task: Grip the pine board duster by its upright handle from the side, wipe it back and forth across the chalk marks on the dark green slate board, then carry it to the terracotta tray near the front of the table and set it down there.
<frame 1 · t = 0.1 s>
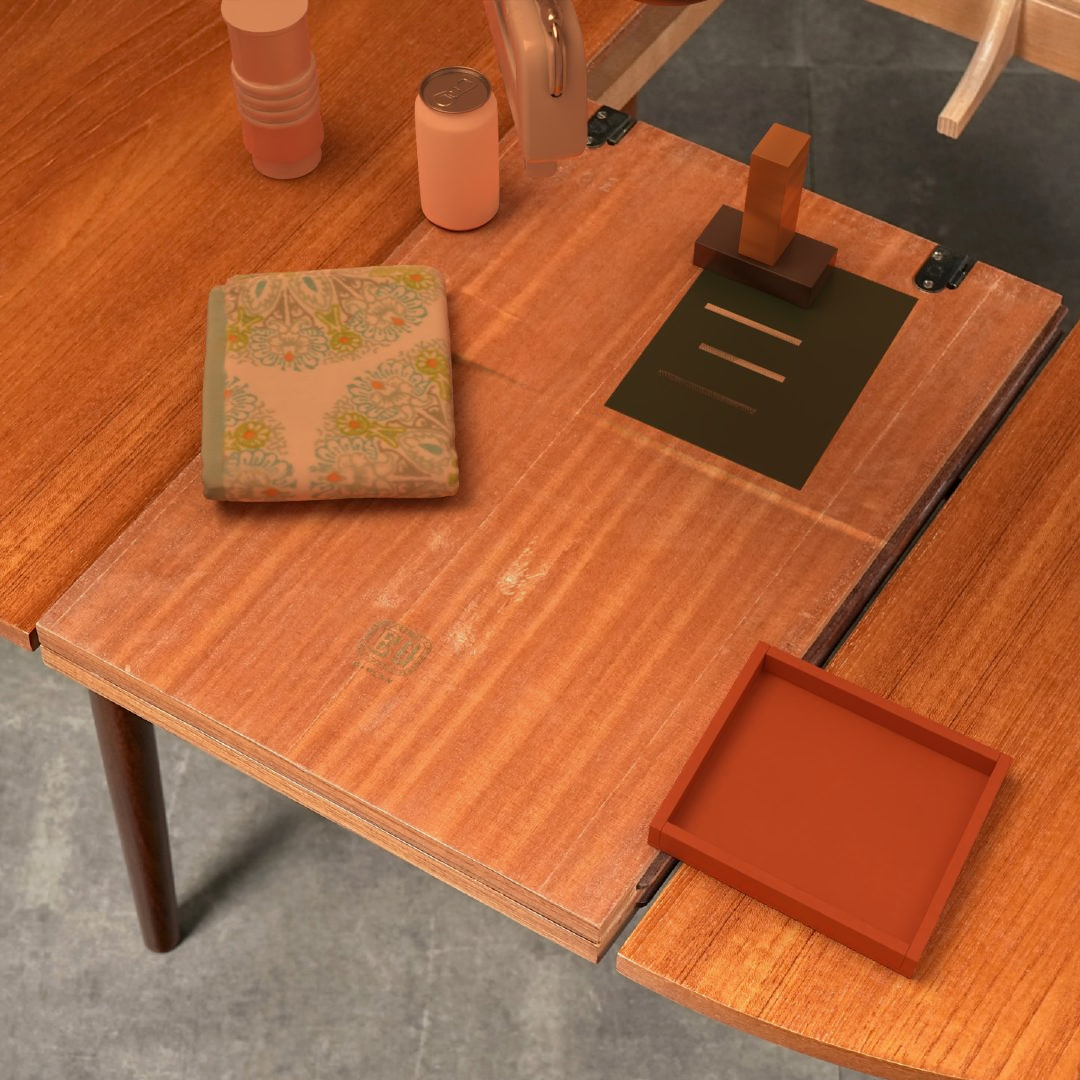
hand: (526, 118, 104), 28 cm above the table, tool pointing down, fingers open, 8 cm apart
towel: (333, 404, 127), on the table
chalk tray: (828, 809, 107), on the table
duster: (763, 267, 134), point 1 cm above the table, touching slate board
pink ridged cylinder: (286, 157, 144), on the table
can: (460, 208, 140), on the table
slate board: (763, 361, 130), on the table
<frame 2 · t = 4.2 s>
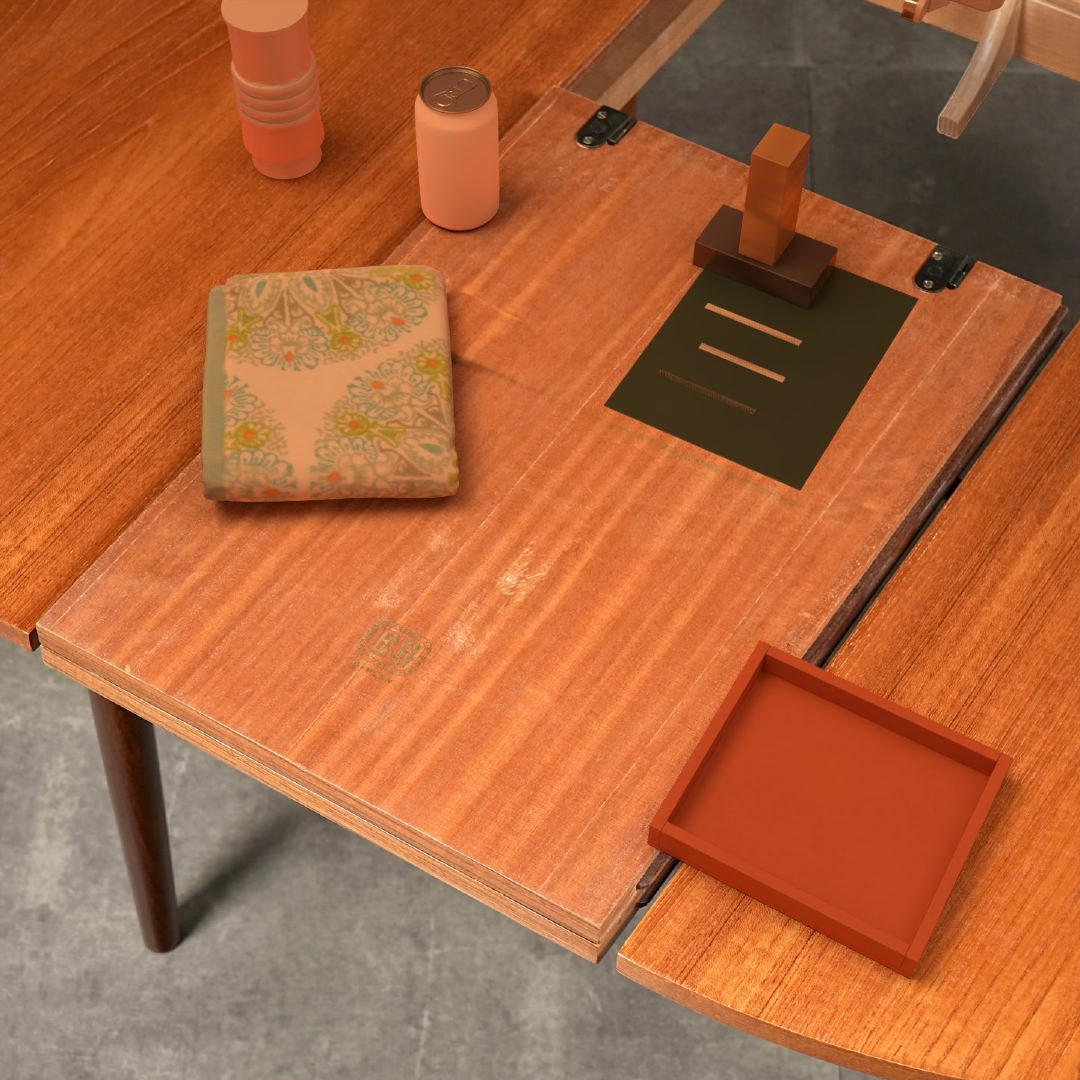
nothing on the table moved.
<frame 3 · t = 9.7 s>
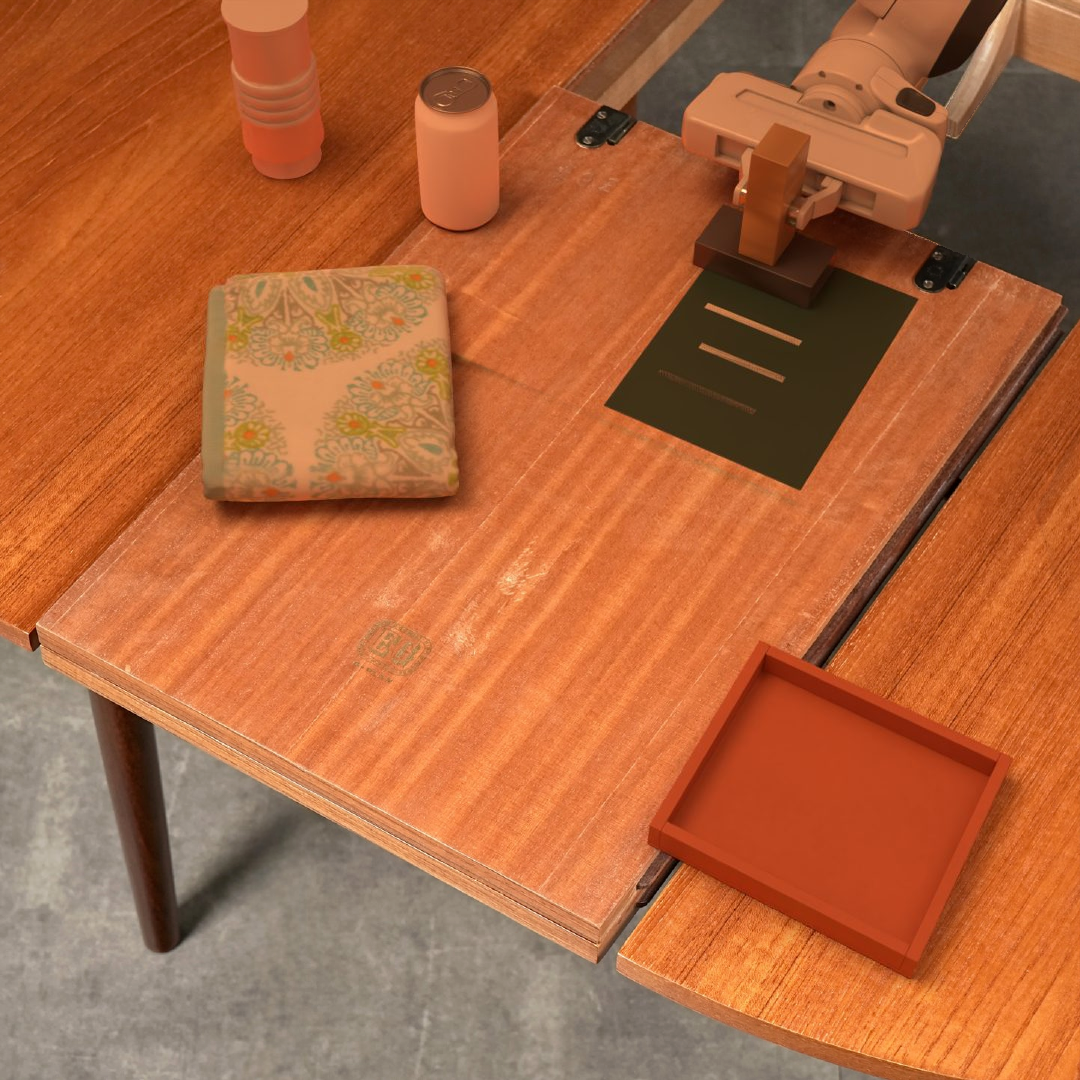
hand: (767, 211, 128), 8 cm above the table, tool horizontal, fingers closed on duster, 3 cm apart
duster: (763, 267, 134), point 1 cm above the table, touching gripper, slate board
everything else where it was.
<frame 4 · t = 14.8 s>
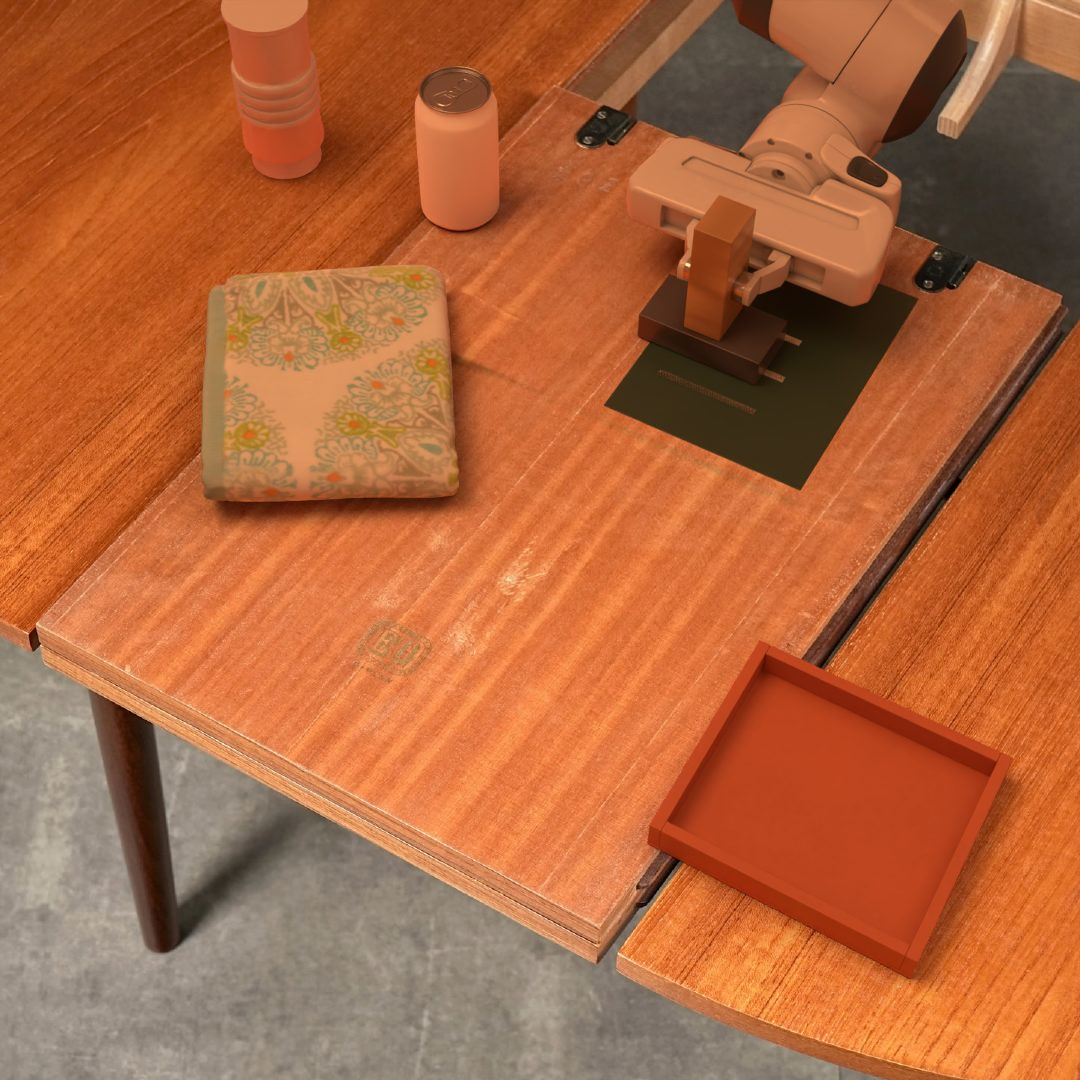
hand: (712, 286, 123), 8 cm above the table, tool horizontal, fingers closed on duster, 3 cm apart
duster: (710, 339, 129), point 1 cm above the table, touching gripper
everything else where it was.
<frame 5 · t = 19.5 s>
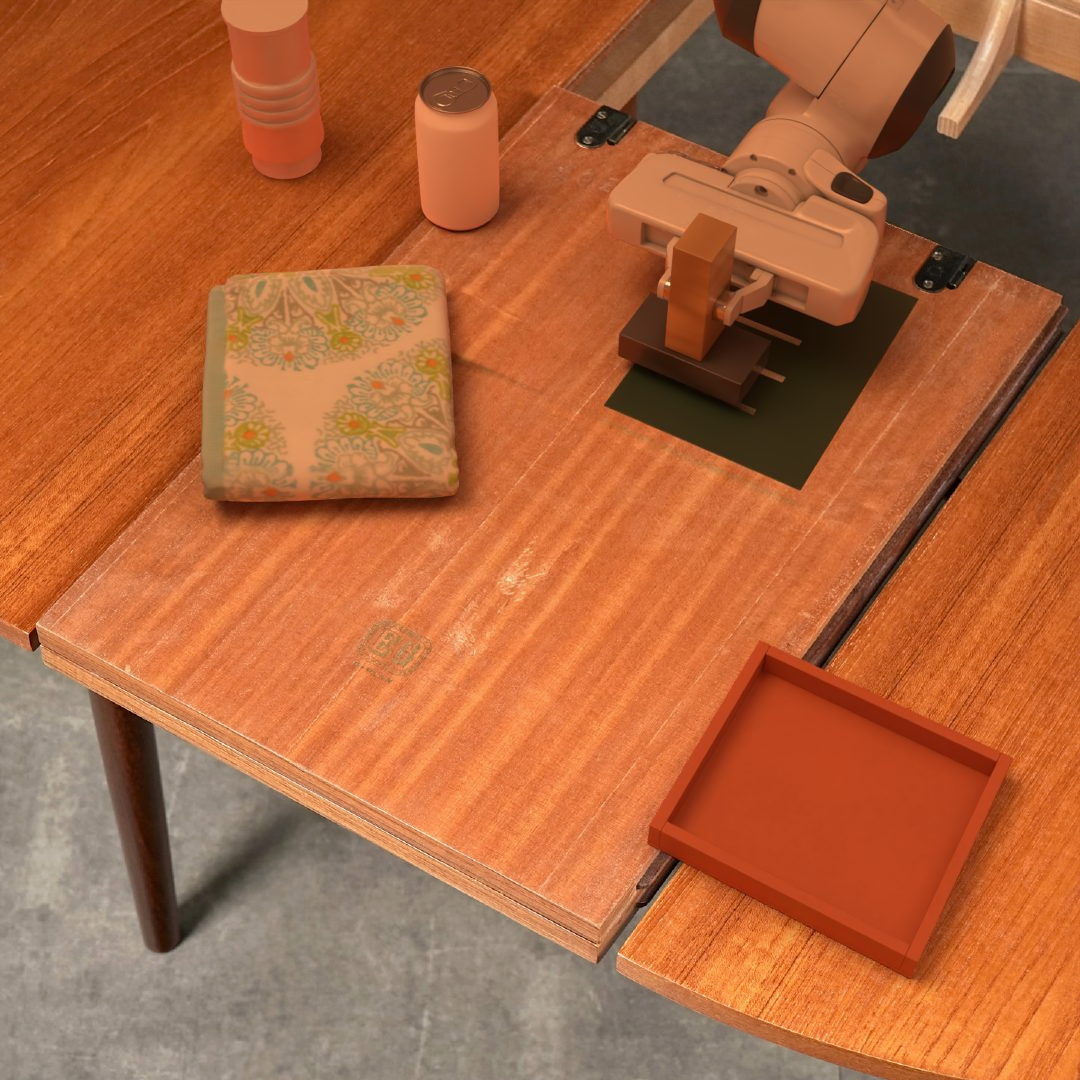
hand: (693, 305, 121), 9 cm above the table, tool horizontal, fingers closed on duster, 3 cm apart
duster: (692, 359, 126), point 2 cm above the table, touching gripper
everything else where it was.
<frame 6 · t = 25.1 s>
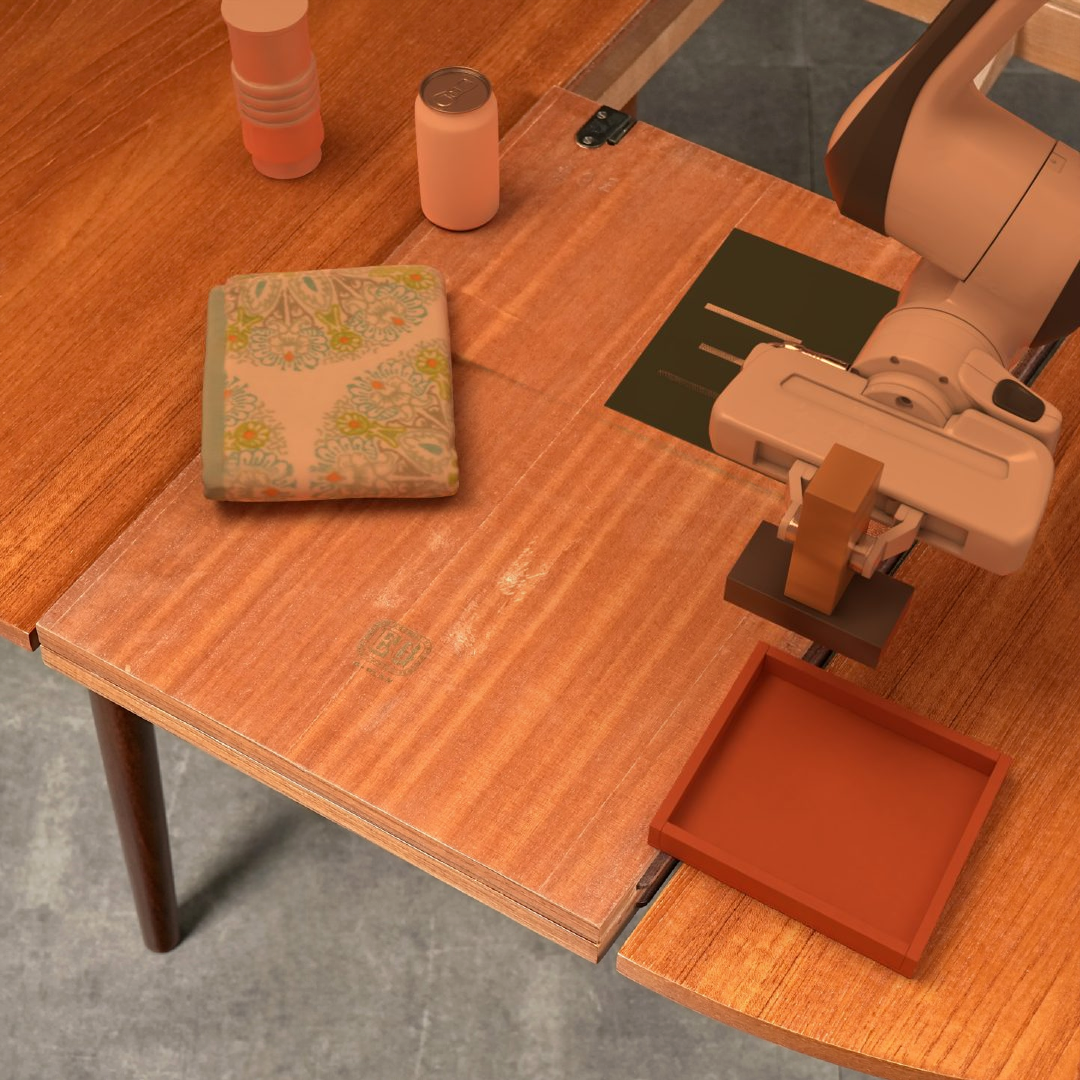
hand: (824, 552, 97), 18 cm above the table, tool horizontal, fingers closed on duster, 3 cm apart
duster: (815, 604, 102), point 11 cm above the table, touching gripper
everything else where it was.
when the fingers open (7 cm above the table, at t = 29.5 s): duster stays where it is, resting on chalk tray.
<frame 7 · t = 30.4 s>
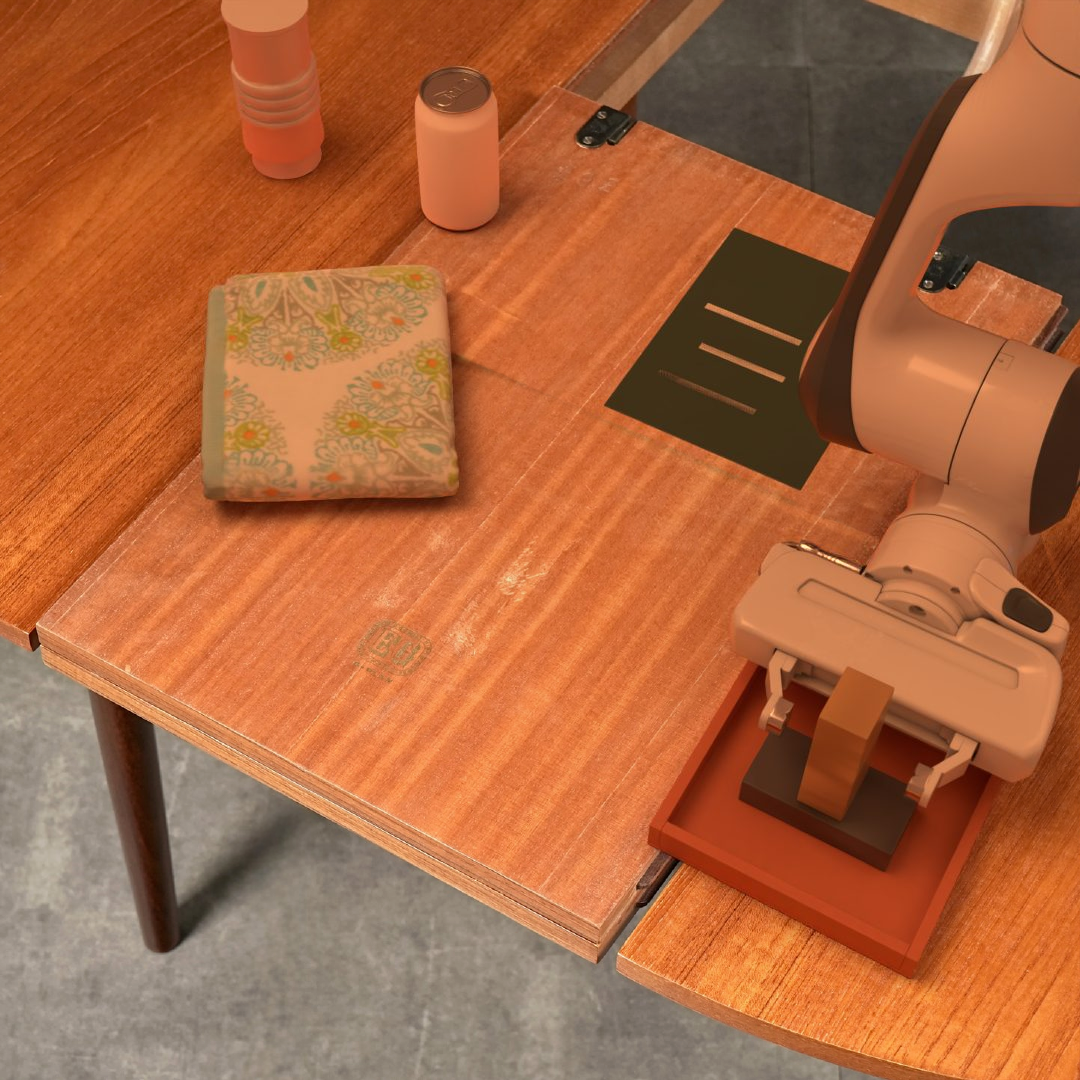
hand: (841, 762, 100), 7 cm above the table, tool horizontal, fingers open, 8 cm apart
duster: (826, 804, 107), resting on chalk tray
everything else where it was.
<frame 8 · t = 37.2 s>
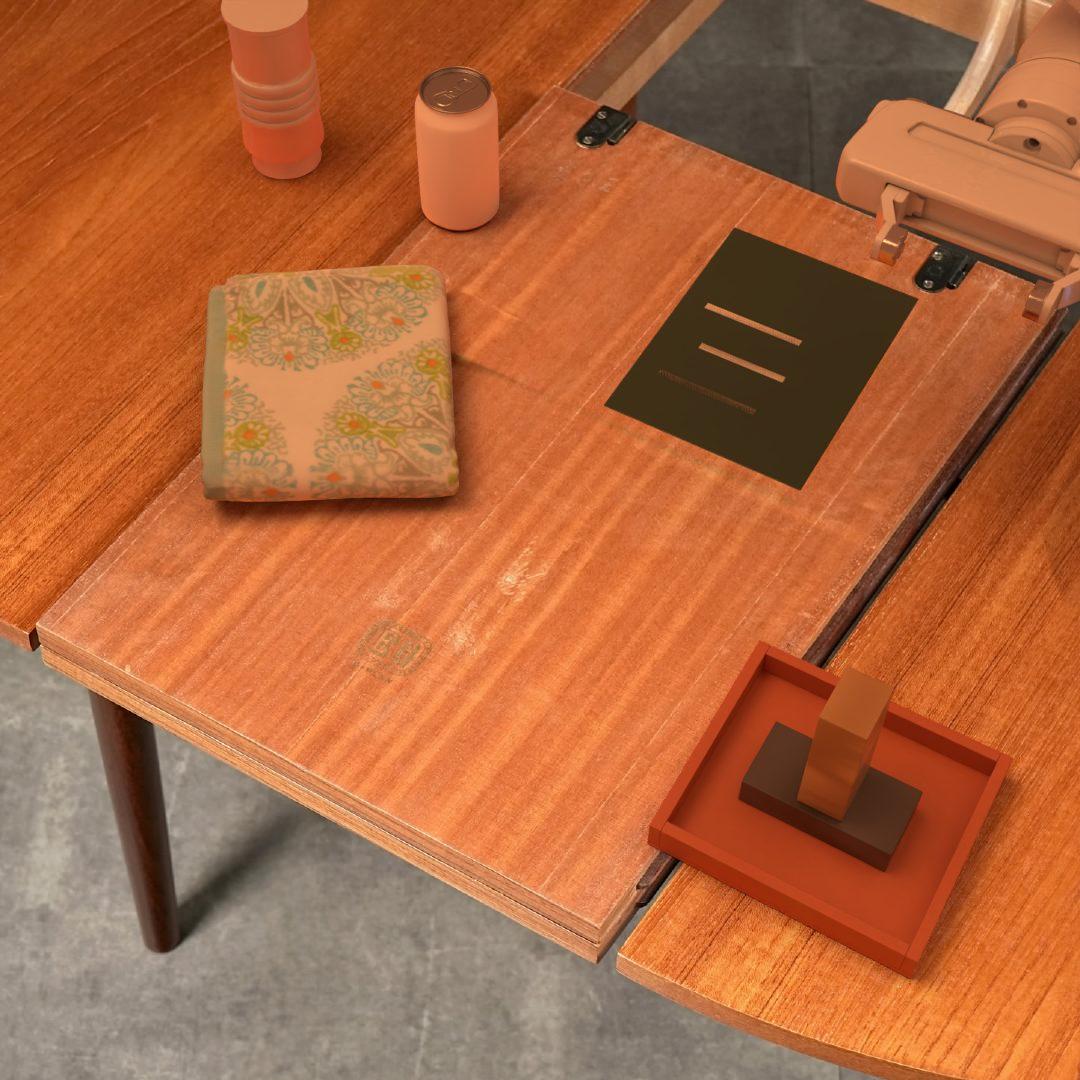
hand: (958, 283, 98), 26 cm above the table, tool horizontal, fingers open, 8 cm apart
nothing on the table moved.
at the end: duster inside the target area in the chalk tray (0.2 cm from its centre), point 0.5 cm above the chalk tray's base; duster tilted 0°; the gripper is holding nothing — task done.
